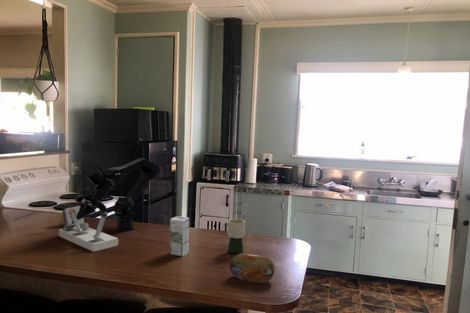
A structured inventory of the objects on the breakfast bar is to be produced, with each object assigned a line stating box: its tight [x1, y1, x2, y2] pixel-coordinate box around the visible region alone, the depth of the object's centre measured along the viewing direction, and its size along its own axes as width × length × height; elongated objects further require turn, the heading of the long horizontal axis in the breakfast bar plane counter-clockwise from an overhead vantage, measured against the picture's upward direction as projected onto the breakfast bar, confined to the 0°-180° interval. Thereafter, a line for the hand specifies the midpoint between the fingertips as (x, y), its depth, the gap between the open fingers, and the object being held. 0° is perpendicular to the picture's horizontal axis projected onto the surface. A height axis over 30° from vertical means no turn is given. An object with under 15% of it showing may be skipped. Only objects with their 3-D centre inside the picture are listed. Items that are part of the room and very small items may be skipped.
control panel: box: [58, 226, 119, 252], centre depth 152 cm, size 11×30×3 cm, turn 51°
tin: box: [229, 252, 276, 284], centre depth 116 cm, size 15×3×8 cm, turn 69°
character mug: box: [227, 218, 246, 254], centre depth 142 cm, size 11×7×13 cm, turn 156°
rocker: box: [63, 224, 75, 229], centre depth 157 cm, size 3×4×1 cm
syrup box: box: [169, 216, 190, 257], centre depth 139 cm, size 6×6×14 cm
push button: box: [80, 222, 89, 230], centre depth 158 cm, size 4×4×2 cm
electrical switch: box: [61, 205, 85, 225], centre depth 177 cm, size 9×5×9 cm, turn 152°
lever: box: [93, 211, 108, 240], centre depth 144 cm, size 3×3×12 cm
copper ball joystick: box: [68, 209, 83, 233], centre depth 150 cm, size 3×3×12 cm
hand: (76, 219), depth 150 cm, fingers closed, pressing on copper ball joystick
